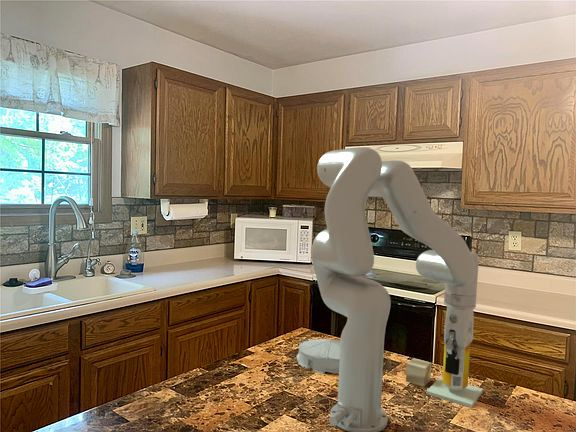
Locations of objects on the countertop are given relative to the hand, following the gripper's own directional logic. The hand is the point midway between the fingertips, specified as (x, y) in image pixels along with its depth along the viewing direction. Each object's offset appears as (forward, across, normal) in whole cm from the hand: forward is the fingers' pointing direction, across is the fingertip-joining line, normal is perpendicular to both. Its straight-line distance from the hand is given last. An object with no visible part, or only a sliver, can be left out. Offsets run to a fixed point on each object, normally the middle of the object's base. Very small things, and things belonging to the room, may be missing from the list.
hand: (455, 368), depth 112 cm
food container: (+7, -3, +36) cm, 37 cm away
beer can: (+5, 0, 0) cm, 5 cm away
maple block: (+7, +1, +10) cm, 12 cm away
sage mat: (+6, 0, 0) cm, 6 cm away
